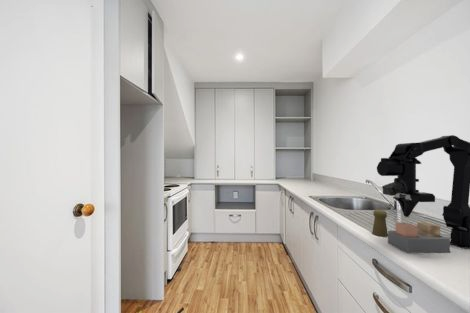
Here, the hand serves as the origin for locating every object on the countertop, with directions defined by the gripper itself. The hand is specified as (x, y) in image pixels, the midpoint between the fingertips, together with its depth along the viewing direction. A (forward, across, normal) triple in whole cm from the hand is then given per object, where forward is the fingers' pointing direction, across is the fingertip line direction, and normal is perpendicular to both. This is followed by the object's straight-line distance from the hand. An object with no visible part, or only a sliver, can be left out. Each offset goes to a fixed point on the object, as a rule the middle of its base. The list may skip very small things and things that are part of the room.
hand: (406, 216), depth 89 cm
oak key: (+9, 0, +9) cm, 12 cm away
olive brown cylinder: (+12, -16, 0) cm, 20 cm away
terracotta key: (+9, 0, 0) cm, 9 cm away
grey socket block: (+12, 0, +4) cm, 13 cm away
